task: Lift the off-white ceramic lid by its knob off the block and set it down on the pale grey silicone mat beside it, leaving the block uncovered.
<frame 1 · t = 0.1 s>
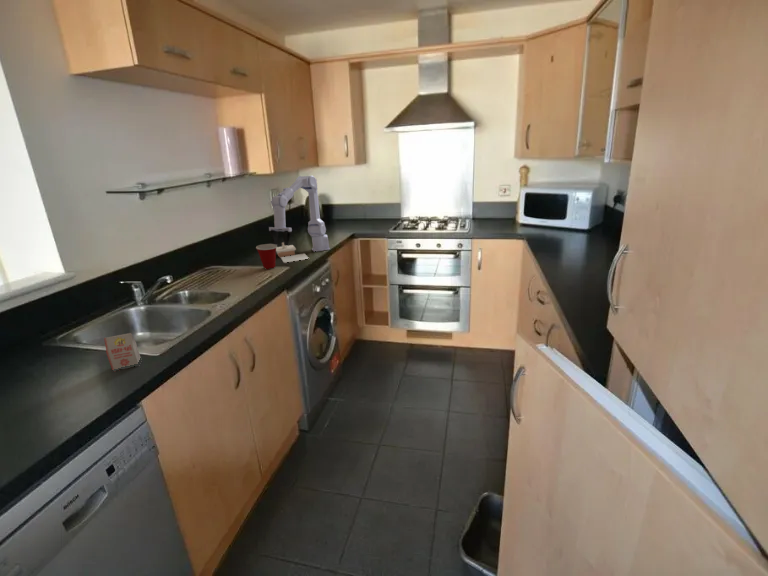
hand: (280, 244, 214), 11 cm above the worktop, tool pointing down, fingers open, 7 cm apart
lid: (285, 249, 237), point 3 cm above the worktop, touching block
beige cardboard box: (127, 366, 118), on the worktop
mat: (294, 258, 228), on the worktop
plastic cup: (270, 268, 212), on the worktop
block: (286, 254, 238), on the worktop
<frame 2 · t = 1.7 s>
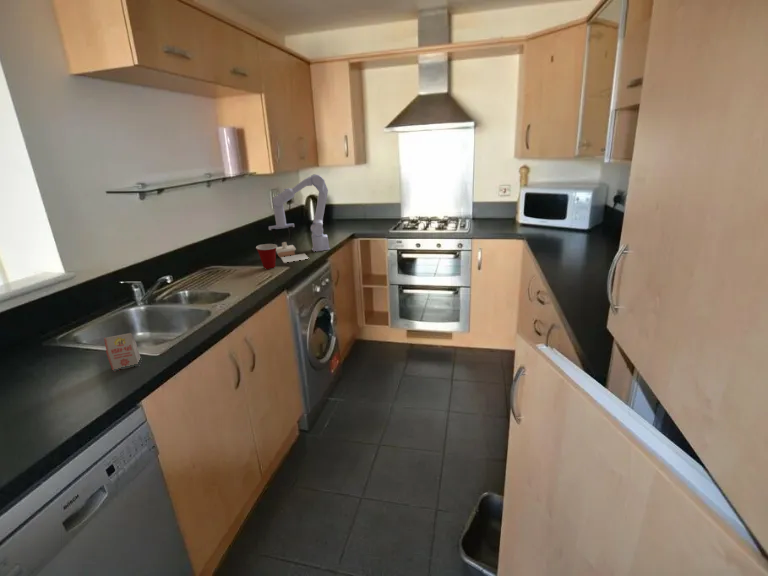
hand: (283, 240, 235), 8 cm above the worktop, tool pointing down, fingers open, 7 cm apart
nothing on the worktop moved.
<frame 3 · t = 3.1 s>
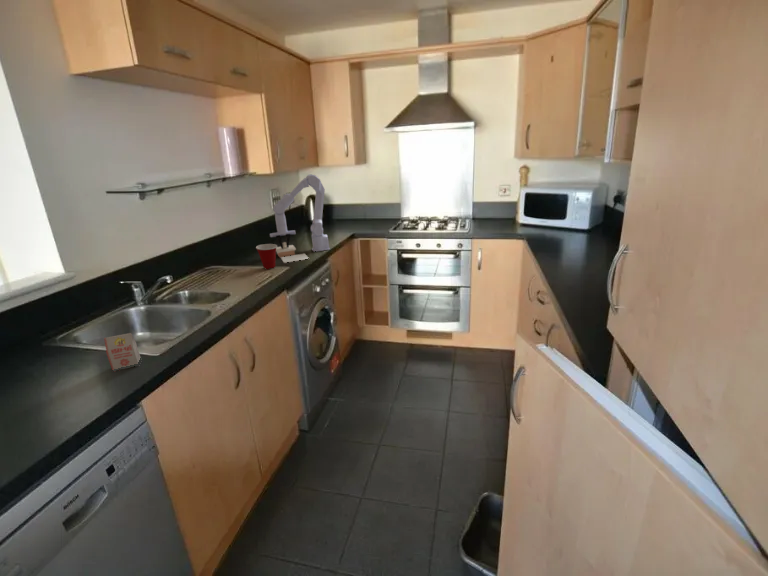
hand: (284, 247, 237), 4 cm above the worktop, tool pointing down, fingers closed on lid, 3 cm apart
lid: (285, 249, 237), point 3 cm above the worktop, touching block, gripper
everything else where it was.
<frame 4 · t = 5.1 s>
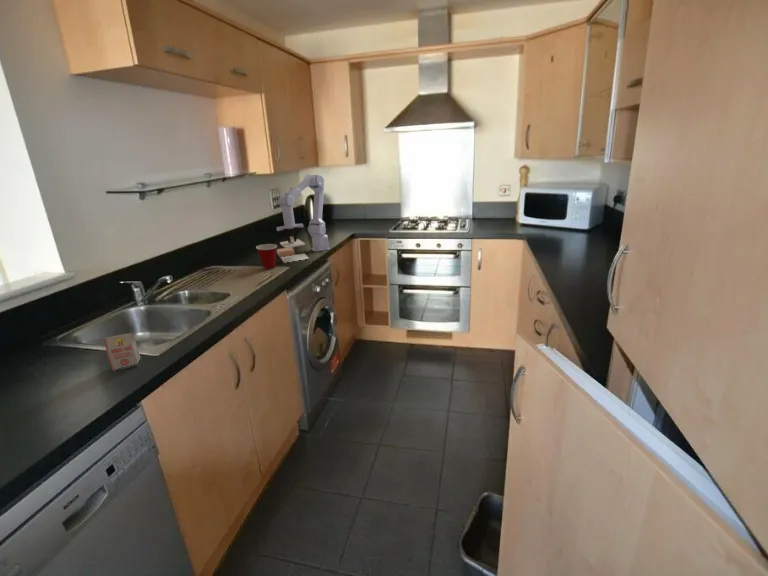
hand: (292, 241, 224), 10 cm above the worktop, tool pointing down, fingers closed on lid, 3 cm apart
lid: (292, 244, 225), point 8 cm above the worktop, touching gripper
everything else where it was.
when the fingers open (3 cm above the worktop, at t = 6.9 s): lid stays where it is, resting on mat.
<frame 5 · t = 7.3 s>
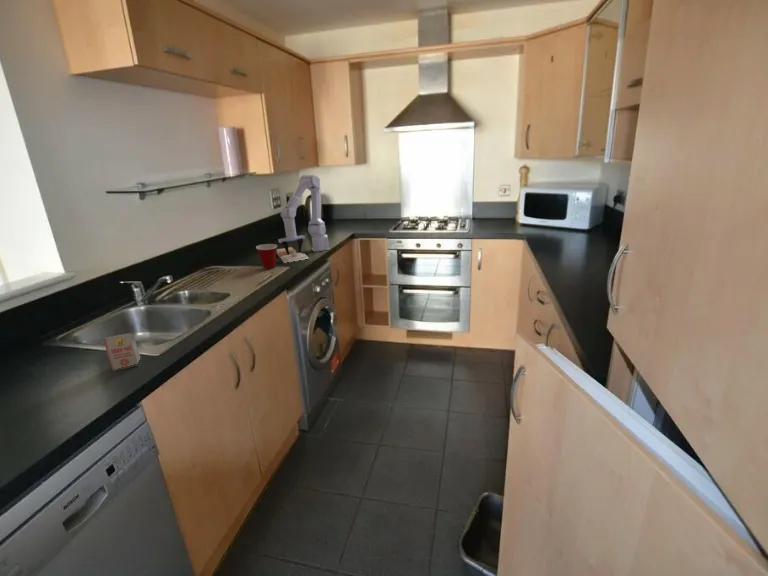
hand: (294, 253, 227), 3 cm above the worktop, tool pointing down, fingers open, 6 cm apart
lid: (294, 257, 228), resting on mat
everything else where it was.
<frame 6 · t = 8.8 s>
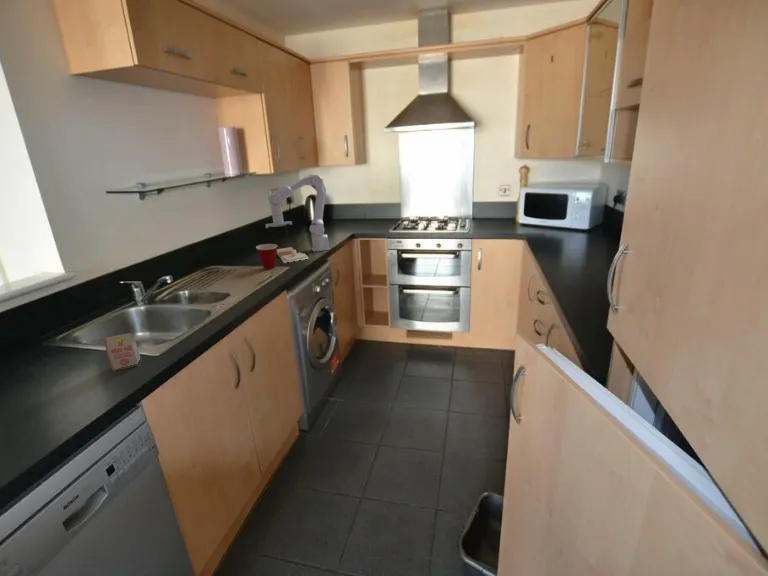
hand: (281, 238, 231), 10 cm above the worktop, tool pointing down, fingers open, 7 cm apart
nothing on the worktop moved.
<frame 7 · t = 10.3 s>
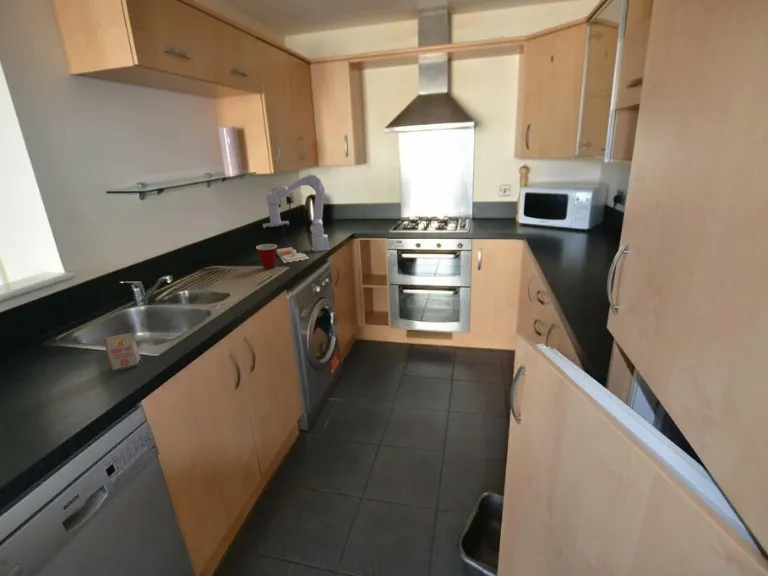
hand: (278, 238, 233), 10 cm above the worktop, tool pointing down, fingers open, 7 cm apart
nothing on the worktop moved.
at the end: lid inside the target area on the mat (0.6 cm from its centre), point 0.4 cm above the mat's base; lid touching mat; lid tilted 0° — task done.
